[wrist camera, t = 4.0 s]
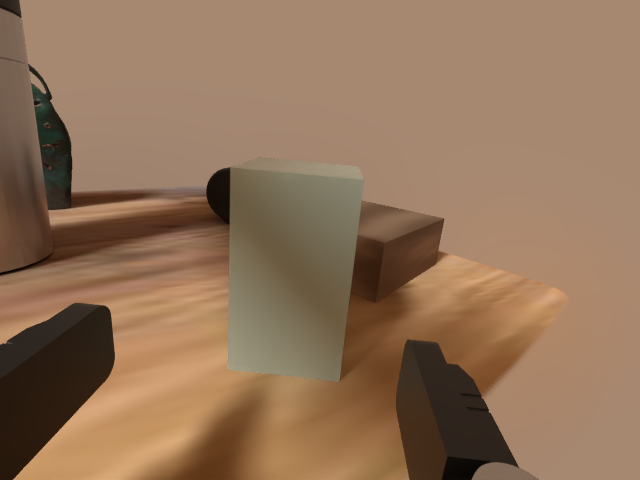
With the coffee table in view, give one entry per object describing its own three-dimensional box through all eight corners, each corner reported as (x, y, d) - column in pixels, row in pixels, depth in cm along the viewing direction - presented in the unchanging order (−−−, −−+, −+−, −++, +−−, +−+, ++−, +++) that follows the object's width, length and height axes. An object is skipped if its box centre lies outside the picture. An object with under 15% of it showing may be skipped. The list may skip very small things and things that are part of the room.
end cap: (239, 207, 52) (239, 159, 50) (286, 213, 51) (289, 164, 49) (205, 223, 43) (205, 165, 41) (262, 231, 42) (265, 172, 40)
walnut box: (261, 261, 34) (264, 208, 32) (336, 237, 43) (340, 195, 41) (375, 307, 27) (384, 242, 25) (434, 267, 36) (444, 218, 35)
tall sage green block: (227, 369, 18) (230, 167, 15) (253, 314, 23) (259, 157, 21) (339, 382, 18) (364, 179, 15) (339, 324, 23) (358, 166, 20)
